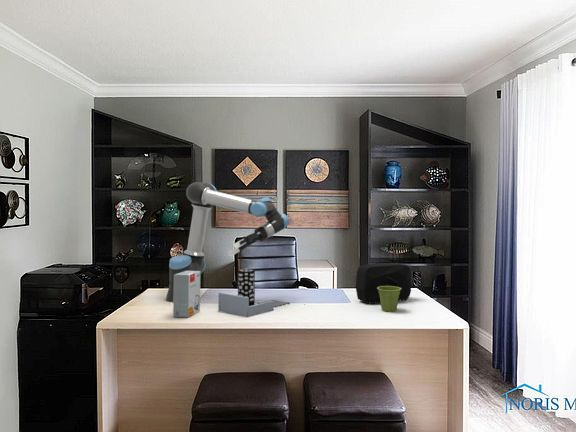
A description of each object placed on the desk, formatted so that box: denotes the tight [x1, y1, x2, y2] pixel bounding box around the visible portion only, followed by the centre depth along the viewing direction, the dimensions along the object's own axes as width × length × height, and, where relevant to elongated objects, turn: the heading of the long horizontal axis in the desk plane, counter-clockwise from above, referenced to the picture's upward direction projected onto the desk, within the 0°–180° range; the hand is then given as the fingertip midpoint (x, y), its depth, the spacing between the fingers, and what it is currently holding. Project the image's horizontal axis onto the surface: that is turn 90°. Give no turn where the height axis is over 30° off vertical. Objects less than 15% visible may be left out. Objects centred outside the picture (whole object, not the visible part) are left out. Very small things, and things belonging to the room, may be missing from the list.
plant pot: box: [377, 286, 401, 313], centre depth 253 cm, size 12×12×11 cm
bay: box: [218, 292, 275, 318], centre depth 251 cm, size 19×19×9 cm
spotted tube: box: [237, 268, 256, 306], centre depth 251 cm, size 8×8×20 cm
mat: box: [257, 299, 290, 308], centre depth 267 cm, size 12×12×1 cm
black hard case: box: [355, 262, 412, 305], centre depth 274 cm, size 30×12×20 cm, turn 114°
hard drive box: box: [172, 271, 201, 318], centre depth 243 cm, size 16×8×20 cm, turn 168°
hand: (231, 251), depth 260 cm, fingers open, 13 cm apart
